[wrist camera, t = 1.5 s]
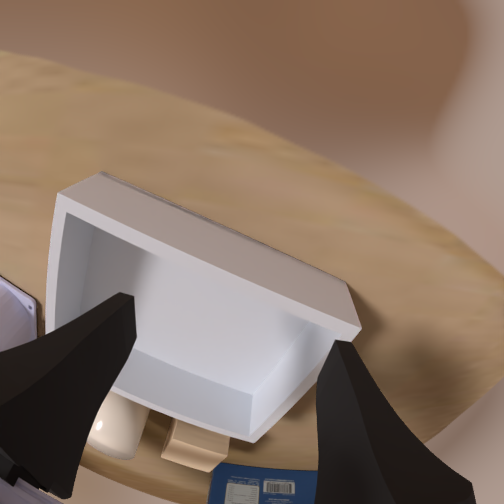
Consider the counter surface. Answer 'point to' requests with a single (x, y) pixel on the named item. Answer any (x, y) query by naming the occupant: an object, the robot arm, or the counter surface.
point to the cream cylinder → (118, 426)
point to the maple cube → (194, 446)
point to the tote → (195, 306)
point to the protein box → (260, 485)
